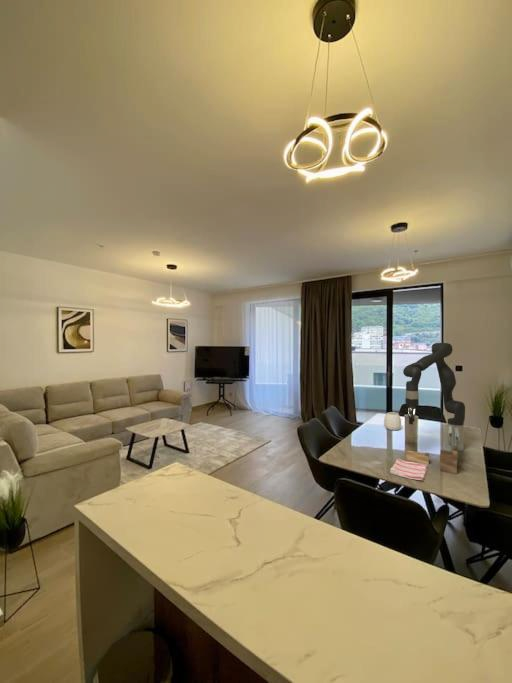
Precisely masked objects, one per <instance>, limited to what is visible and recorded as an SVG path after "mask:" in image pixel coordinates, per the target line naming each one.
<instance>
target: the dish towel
mask: <svg viewBox="0 0 512 683" xmlns="http://www.w3.org/2000/svg"><path fill="white" fill-rule="evenodd" d="M428 468H429V464H424V463H419V462H414V461H409V460H403V459H400V458H397V459H396V460H395V463H394V464H393V465H392V467H391V468H390V470H389V471H390V472H389V473H390V475H393V476H397V477H401V478H405V479H409V480H414V481H415V480H416V481H420V482H424V480H425V478H426V475H427V472H428Z"/></svg>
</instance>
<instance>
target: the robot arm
mask: <svg viewBox="0 0 512 683" xmlns="http://www.w3.org/2000/svg"><path fill="white" fill-rule="evenodd" d="M452 353H453V346H452V344H451V343H448V342H434V343H433V344H432V345H431V353H430V354H427V355H425V356H423V357H421V358H420V359H418V360H417V361H415V362H413V363H410V364H408V365H407V366H405V367H404V369H403V370H402V373H403V375H404V376H405V377H407V378H411V379H410V380H408V381H406V383H405V397H404V398H405V399H404V400H405V401H404V402H405V403H404V404H405V405H406V406H408V408H407V411H408V412H407V414H408V416H407V417H408V425H414V422H415V416H416V408H417V407H418V406H419V402H420V401H419V395H420V394H419V384H420V380H421V378H422V372H424V371H426V369H428V368H429V367H430V366H432V365H434V364H435V365H436V368H437V369H436V370H437V373H438V379H439V383H440V386H441V390H442V396H443V404H444V409H445V411H446V412H447V413H449V414H453V416H454V417H449V418H447V427H448V426H451V428H452V446H455V428H458V432H459V446H458V452H459V451H460V452H461V451H464V450H465V449H464V448H465V442H464V440H465V432H464V429H465V428H464V425H465V420H466V405H465V403H464V402H462V401H459V400H454V398H453V391H454V389H455V387H456V385H457V379H456V375H455V373H454V371H453V370H452V368H451V367H450V366H449V365H448V364H447V362H446V361H445V358H447V357H449V356H451V355H452ZM447 445H448V446H450V445H449V443H448V442H447ZM452 451H453V449H452Z"/></svg>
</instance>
